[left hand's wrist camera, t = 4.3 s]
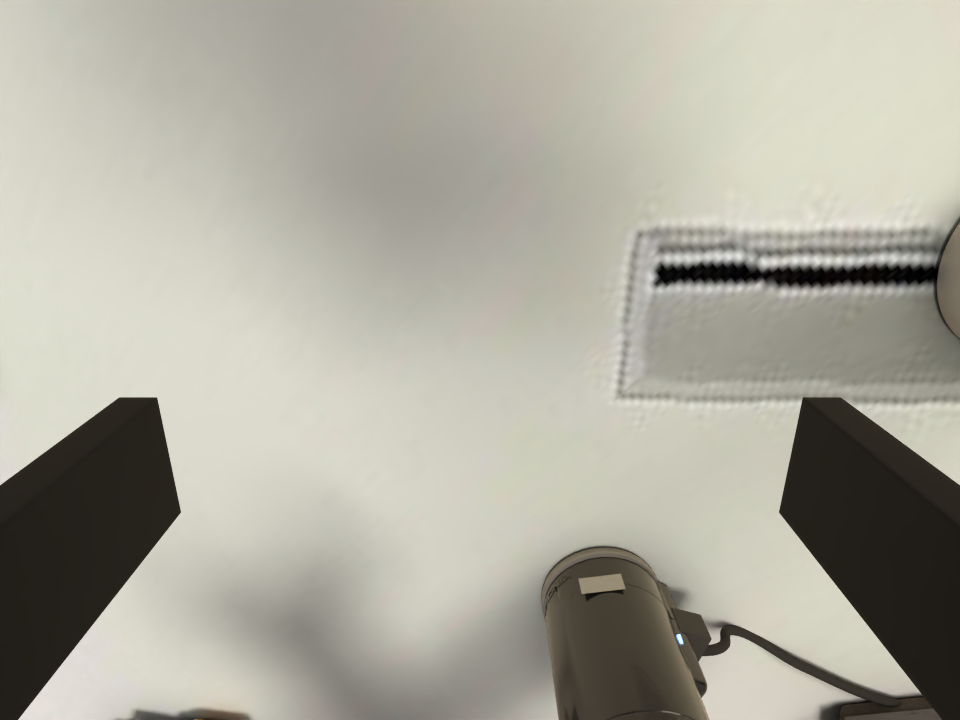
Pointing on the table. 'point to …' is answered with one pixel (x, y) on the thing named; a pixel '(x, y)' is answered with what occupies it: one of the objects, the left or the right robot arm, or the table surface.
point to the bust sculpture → (950, 283)
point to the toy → (890, 711)
